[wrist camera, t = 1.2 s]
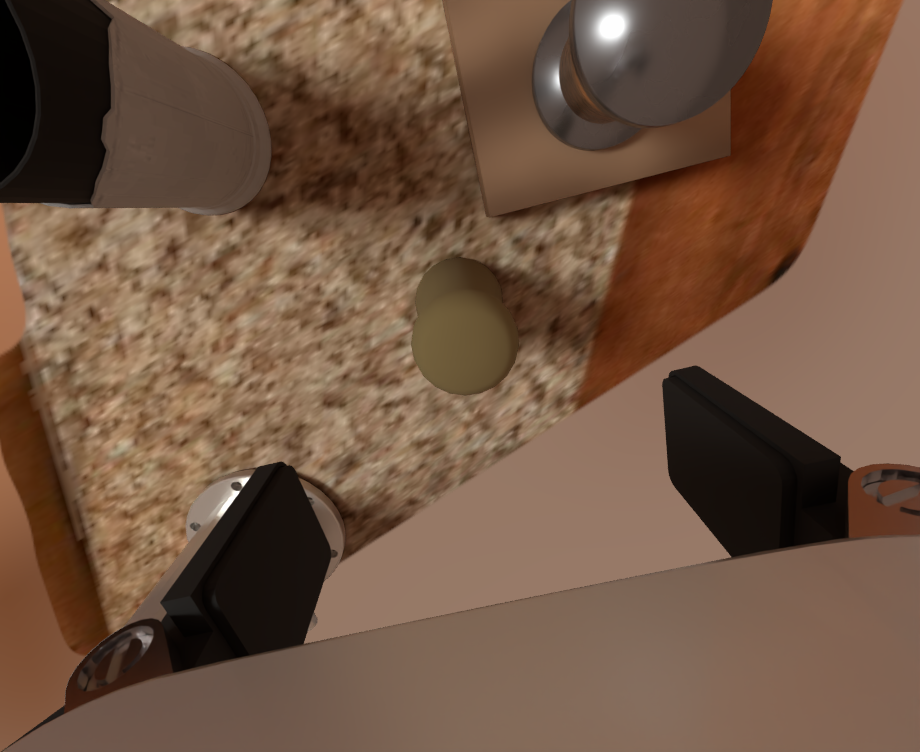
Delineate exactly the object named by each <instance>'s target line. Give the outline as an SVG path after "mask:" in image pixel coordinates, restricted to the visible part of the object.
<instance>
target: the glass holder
mask: <svg viewBox="0 0 920 752" xmlns="http://www.w3.org/2000/svg"><path fill="white" fill-rule="evenodd" d="M270 161H271V137H270V132H269V126H268V123H267V120H266V117H265V114H264V111H263V109H262V107H261V105H260V103H259V101H258V99H257V97H256V96H255V95H254V93H253V92H252V90H251V89H250V87H249V86H248V84H247V83H246V82H245V81H244V80H243V79H242V78H241V77H240V76H239V75H238V74H237V72H235V71H234V70H233V69H232V68H230V67H229V66H228V65H227V64H226V63H224V62H223V61H221V60H219V59H218V58H216V57H214V56H212V55H211V54H208V53H205V52H203V51H200V50H197V49H194V48H189V47H183V46H180V45H178V44H176V43H175V42H173V41H171V40H170V39H168V38H167V37H165V36H163V35H162V34H160V33H158V32H157V31H155V30H153V29H152V28H150V27H148V26H147V25H145V24H143V23H142V22H140V21H138V20H137V19H135V18H133V17H132V16H130V15H129V14H127V13H125V12H124V11H122V10H120V9H119V8H117V7H115V6H114V5H112V4H110V3H109V2H107V1H105V0H0V203H41V204H45V205H48V206H56V207H65V208H180V209H182V210H185V211H189V212H192V213H195V214H202V215H222V214H226V213H230V212H233V211H235V210H237V209H240V208H242V207H243V206H245V205H246V204H247V203H249V202H250V201H251V200H252V199H253V198H254V197H255V196H256V195H257V193H258V192H259V191H260V189H261V188H262V186H263V184H264V182H265V180H266V177H267V174H268V171H269V168H270Z"/></svg>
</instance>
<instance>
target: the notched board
mask: <svg viewBox="0 0 920 752" xmlns="http://www.w3.org/2000/svg"><path fill="white" fill-rule="evenodd" d="M442 1H443V6H444V11H445V16H446V21H447V26H448V31H449V36H450V40H451V45H452V50H453V55H454V60H455V65H456V70H457V75H458V80H459V85H460V89H461V94H462V99H463V104H464V109H465V114H466V119H467V124H468V129H469V134H470V139H471V143H472V148H473V153H474V158H475V163H476V168H477V173H478V178H479V183H480V188H481V192H482V197H483V202H484V207H485V212H486V216H487V217H493V216H497V215H501V214H505V213H509V212H513V211H516V210H520V209H524V208H528V207H532V206H536V205H540V204H544V203H548V202H551V201H555V200H559V199H563V198H567V197H571V196H575V195H579V194H583V193H586V192H590V191H594V190H598V189H602V188H606V187H610V186H614V185H618V184H621V183H625V182H629V181H633V180H637V179H641V178H645V177H649V176H653V175H656V174H660V173H664V172H668V171H672V170H676V169H680V168H684V167H688V166H691V165H695V164H699V163H703V162H707V161H711V160H715V159H719V158H723V157H726V156H730V155H731V90H730V91H729V92H728V93H727V94H726V95H725V96H724V97H722V98H721V99H720V100H719V101H718V102H716V103H715V104H714V105H713V106H711V107H710V108H708V109H706V110H705V111H703V112H702V113H700V114H698V115H696V116H694V117H692V118H689V119H687V120H684V121H681V122H678V123H675V124H672V125H669V126H665V127H660V128H648V129H644V128H642V129H641V130H639V131H638V132H637V133H636V134H635V135H633V136H632V137H630V138H629V139H627V140H626V141H624V142H622V143H620V144H617V145H615V146H612V147H609V148H606V149H601V150H594V151H586V150H579V149H575V148H572V147H570V146H567V145H565V144H564V143H562V142H560V141H559V140H558V139H556V138H555V137H554V136H553V135H552V134H551V133H550V132H549V131H548V129H547V128H546V127H545V125H544V124H543V122H542V121H541V119H540V117H539V114H538V112H537V109H536V106H535V103H534V98H533V93H532V69H533V62H534V58H535V54H536V51H537V48H538V45H539V43H540V41H541V39H542V37H543V34H544V33H545V31H546V29H547V27H548V26H549V24H550V23H551V21H552V19H553V18H554V17H555V15H556V14H557V13H558V12H559V11H560V9H561V8H562V7H563V6H565V5H566V4H567V3H568V2H569V1H570V0H442Z"/></svg>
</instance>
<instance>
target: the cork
mask: <svg viewBox="0 0 920 752" xmlns="http://www.w3.org/2000/svg"><path fill="white" fill-rule="evenodd" d="M415 304H416V309H417V314H418V318H417V320H416V322H415V324H414V327H413V334H412V341H411V346H412V351H413V356H414V360H415V362H416V364H417V365H418V367H419V369H420V371H421V372H422V374H423V376H424V377H425V378H426V379H427V380H428V381H430V382H431V383H432V384H433V385H434V386H435V387H437V388H439V389H441V390H443V391H446V392H448V393H451V394H458V395H472V394H479V393H482V392H484V391H486V390H489V389H491V388H493V387H495V386H496V385H497V384H498V383H500V382H501V381H502V380H503V379H504V378H505V377H506V376H507V375H508V373H509V371H510V370H511V368H512V366H513V365H514V363H515V360H516V355H517V351H518V347H519V338H518V328H517V326H516V324H515V321H514V319H513V317H512V315H511V313H510V311H509V310H508V309H507V308H506V307H505V306H504V305H503V299H502V290H501V287H500V285H499V283H498V281H497V278H496V276H495V275H494V274H493V273H492V272H491V271H490V270H489V269H488V268H487V267H486V266H484V265H483V264H481V263H479V262H477V261H475V260H472V259H467V258H461V257H459V258H452V259H446V260H444V261H442V262H440V263H438V264H436V265H434V266H433V267H432V268H431V269H430V270H429V271H428V272H427V273H426V274H425V275H424V276H423V278H422V280H421V282H420V284H419V286H418V288H417V293H416V300H415Z"/></svg>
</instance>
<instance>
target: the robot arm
mask: <svg viewBox="0 0 920 752" xmlns="http://www.w3.org/2000/svg"><path fill="white" fill-rule="evenodd" d="M662 387H663V402H664V416H665V430H666V445H667V459H668V471H669V476H670V479H671V481H672V483H673V485H674V486H675V488H676V489H677V490H678V492H679V493H680V494H681V495H682V496H683V498H684V499H685V500H686V501H687V503H688V504H689V505H690V506H691V507H692V509H693V510H694V511H695V512H696V514H697V515H698V516H699V517H700V519H701V520H702V521H703V522H704V523H705V525H706V526H707V527H708V528H709V530H710V531H711V532H712V533H713V534H714V536H715V537H716V538H717V539H718V541H719V542H720V543H721V544H722V546H723V547H724V548H725V549H726V551H727V552H728V553H729V554H730V556H731V558H726V559H721V560H716V561H711V562H706V563H701V564H696V565H691V566H686V567H681V568H676V569H671V570H666V571H661V572H655V573H650V574H645V575H640V576H635V577H630V578H625V579H620V580H616V581H610V582H605V583H600V584H596V585H590V586H585V587H580V588H575V589H570V590H565V591H560V592H555V593H550V594H546V595H540V596H536V597H530V598H525V599H520V600H515V601H510V602H505V603H500V604H495V605H491V606H486V607H481V608H476V609H471V610H467V611H461V612H457V613H452V614H447V615H442V616H437V617H432V618H427V619H422V620H418V621H413V622H408V623H403V624H398V625H393V626H388V627H383V628H378V629H374V630H369V631H364V632H359V633H354V634H349V635H345V636H340V637H335V638H330V639H326V640H321V641H316V642H312V643H306V644H304V641H305V638H306V634H307V631H309V630H311V629H313V628H314V627H315V626H316V624H317V617H316V615H315V613H314V610H315V607H316V604H317V601H318V598H319V594H320V591H321V588H322V585H323V582H324V581H325V580H326V579H327V578H328V577H330V575H331V574H332V573H333V572H334V570H335V569H336V568H337V566H338V564H339V562H340V560H341V558H342V554H343V551H344V547H345V537H346V533H345V528H344V522H343V520H342V518H341V515H340V513H339V511H338V510H337V508H336V507H335V505H334V504H333V503H332V501H331V500H330V499H329V498H328V497H327V496H326V495H325V494H324V493H323V492H322V491H321V490H319V489H318V488H316V487H315V486H313V485H312V484H310V483H309V482H307V481H305V480H303V479H300V478H298V475H297V473H296V471H295V469H294V468H293V467H292V466H290V465H289V466H287V465H286V464H285V463H284V462H277V463H273V464H268V465H264V466H260V467H258V468H257V469H249V470H243V471H238V472H233V473H231V474H228V475H226V476H223V477H221V478H219V479H217V480H216V481H214V482H213V483H211V484H210V485H209V486H208V487H207V488H206V489H205V490H204V491H203V492H202V493H201V494H200V495H199V496H198V498H197V499H196V500H195V501H194V503H193V504H192V506H191V508H190V511H189V513H188V515H187V521H186V533H187V540H188V542H189V543H188V544H187V545H186V546H185V548H184V549H183V550H182V552H181V553H180V554H179V556H178V557H177V558H176V560H175V561H174V562H173V563H172V565H171V566H170V567H169V569H168V570H167V571H166V573H165V574H164V575H163V577H162V578H161V579H160V580H159V582H158V583H157V584H156V586H155V587H154V588H153V590H152V591H151V592H150V594H149V595H148V596H147V597H146V599H145V600H144V601H143V603H142V604H141V605H140V607H139V608H138V609H137V611H136V612H135V613H134V614H133V616H132V617H131V618H130V620H129V621H128V622H127V624H126V625H125V626H124V627H123V628H121V629H119V630H118V631H116V632H114V633H113V634H112V635H110V636H109V637H107V638H106V639H105V640H103V641H102V642H101V643H99V644H98V645H97V646H96V647H95V648H94V649H93V650H92V651H91V652H90V653H88V654H87V656H86V657H85V658H84V659H83V660H82V661H81V662H80V664H79V665H78V666H77V667H76V669H75V670H74V672H73V674H72V676H71V677H70V678H69V681H68V684H67V687H66V692H65V705H64V706H63V707H62V708H60V709H59V710H58V711H56V712H55V713H54V714H52V715H51V716H49V717H48V718H47V719H45V720H44V721H43V722H41V723H40V724H38V725H37V726H36V727H34V728H33V729H32V730H30V731H29V732H28V733H26V734H25V735H23V736H22V737H21V738H19V739H18V740H17V741H15V742H14V743H12V744H11V745H10V746H8V747H7V748H6V749H4V750H3V751H2V752H920V467H915V466H910V465H901V464H873V465H869V466H865V467H861V468H858V469H857V470H856V471H852V470H851V469H849V468H848V467H846V466H845V465H843V464H842V463H840V460H841V457H840V456H839V455H837V454H836V453H834V452H832V451H831V450H829V449H828V448H826V447H825V446H823V445H822V444H820V443H818V442H817V441H815V440H814V439H812V438H811V437H809V436H807V435H806V434H804V433H803V432H801V431H800V430H798V429H796V428H795V427H793V426H792V425H790V424H789V423H787V422H785V421H784V420H782V419H781V418H779V417H778V416H776V415H774V414H773V413H771V412H770V411H768V410H767V409H765V408H763V407H762V406H760V405H759V404H757V403H755V402H754V401H752V400H751V399H749V398H748V397H746V396H744V395H743V394H741V393H740V392H738V391H737V390H735V389H733V388H732V387H730V386H729V385H727V384H726V383H724V382H722V381H721V380H719V379H718V378H716V377H715V376H713V375H711V374H710V373H708V372H707V371H705V370H704V369H702V368H700V367H698V366H692V367H688V368H683V369H679V370H674V371H671V372H670V373H669V378H666V379H664V380H663V384H662Z"/></svg>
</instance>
